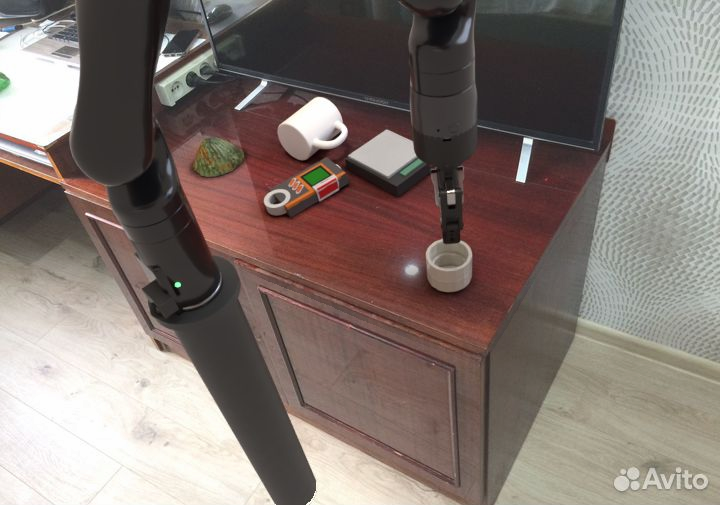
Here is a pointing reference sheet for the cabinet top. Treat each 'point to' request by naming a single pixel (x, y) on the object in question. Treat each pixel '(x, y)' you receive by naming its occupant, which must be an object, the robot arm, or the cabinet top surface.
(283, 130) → the mug
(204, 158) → the seashell
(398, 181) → the scale
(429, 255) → the beige cylindrical cup
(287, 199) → the electronic device
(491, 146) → the cabinet top surface
